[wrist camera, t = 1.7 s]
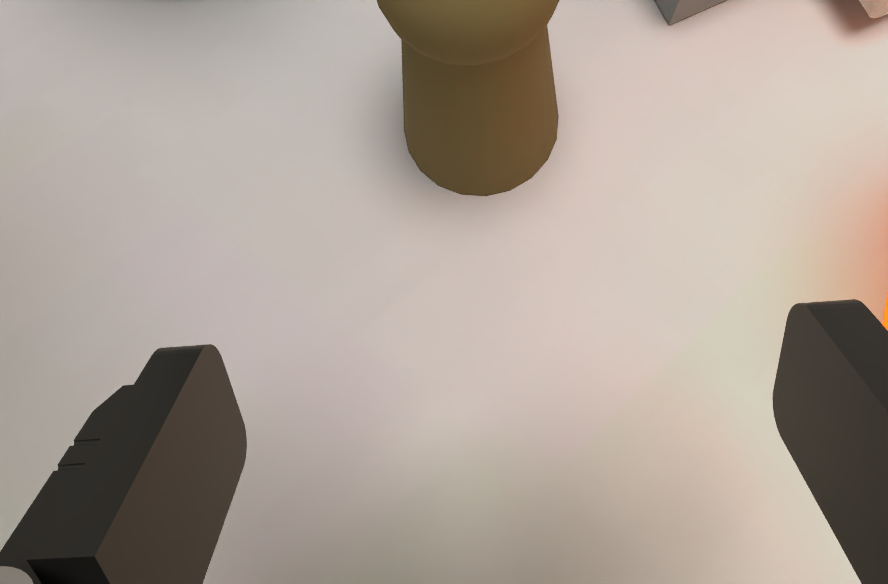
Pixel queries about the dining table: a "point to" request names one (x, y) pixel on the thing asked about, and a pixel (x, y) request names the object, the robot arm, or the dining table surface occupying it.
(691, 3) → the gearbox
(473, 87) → the cork
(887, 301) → the orange juice
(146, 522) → the robot arm
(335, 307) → the dining table surface
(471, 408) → the dining table surface
